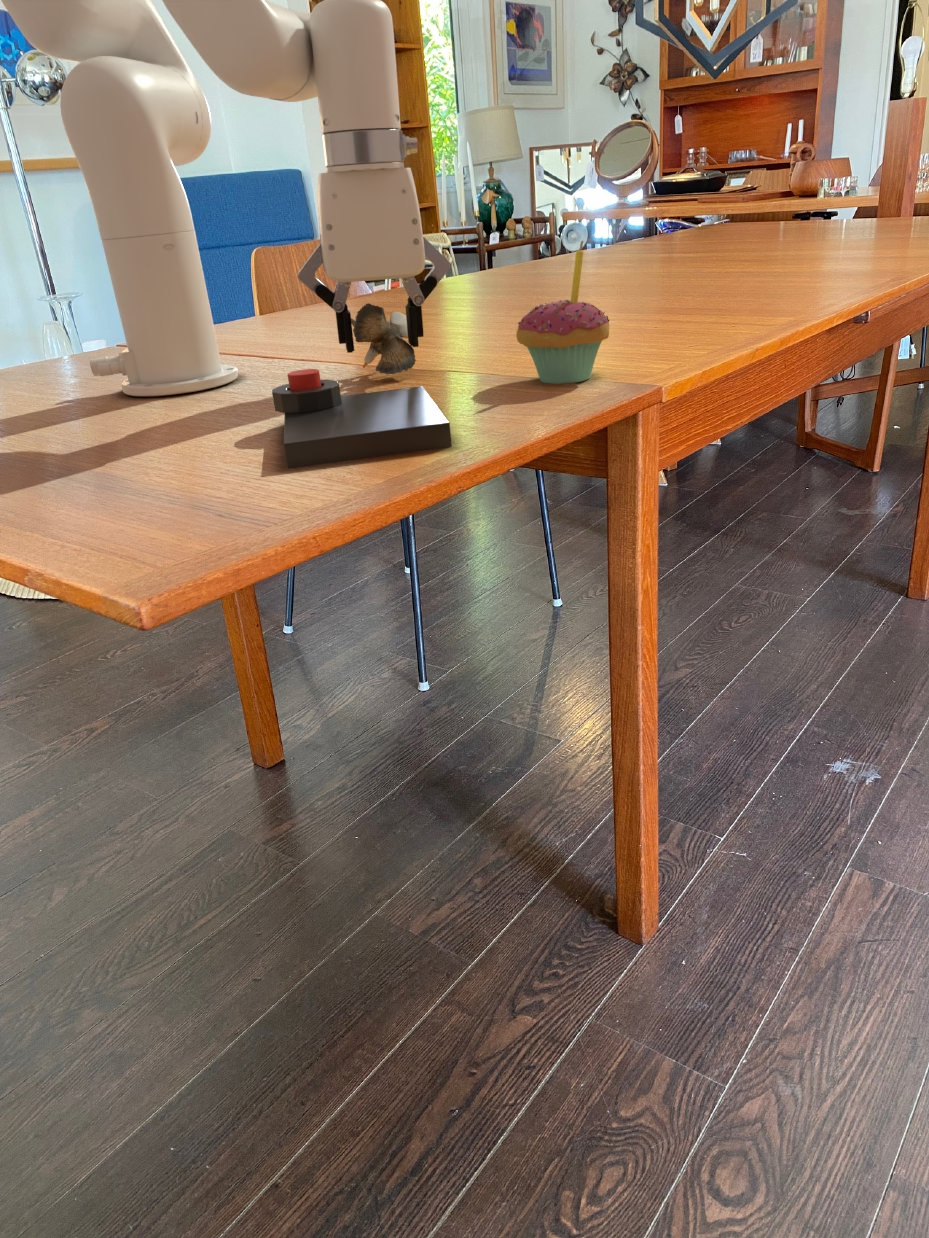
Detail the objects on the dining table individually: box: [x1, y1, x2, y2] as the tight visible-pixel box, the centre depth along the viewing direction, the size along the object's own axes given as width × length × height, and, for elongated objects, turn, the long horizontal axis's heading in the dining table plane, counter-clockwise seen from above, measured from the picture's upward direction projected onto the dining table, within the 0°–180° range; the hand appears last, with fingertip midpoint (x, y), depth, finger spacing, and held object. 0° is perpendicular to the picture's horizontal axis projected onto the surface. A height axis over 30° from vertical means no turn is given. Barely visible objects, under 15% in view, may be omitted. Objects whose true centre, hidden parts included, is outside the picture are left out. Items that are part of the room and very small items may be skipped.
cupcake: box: [515, 240, 610, 385], centre depth 83 cm, size 9×8×12 cm
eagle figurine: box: [351, 303, 417, 376], centre depth 94 cm, size 8×7×9 cm
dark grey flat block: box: [271, 379, 453, 469], centre depth 72 cm, size 13×15×4 cm
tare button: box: [286, 368, 322, 391], centre depth 75 cm, size 3×3×2 cm
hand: (381, 346), depth 94 cm, fingers closed on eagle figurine, 6 cm apart
